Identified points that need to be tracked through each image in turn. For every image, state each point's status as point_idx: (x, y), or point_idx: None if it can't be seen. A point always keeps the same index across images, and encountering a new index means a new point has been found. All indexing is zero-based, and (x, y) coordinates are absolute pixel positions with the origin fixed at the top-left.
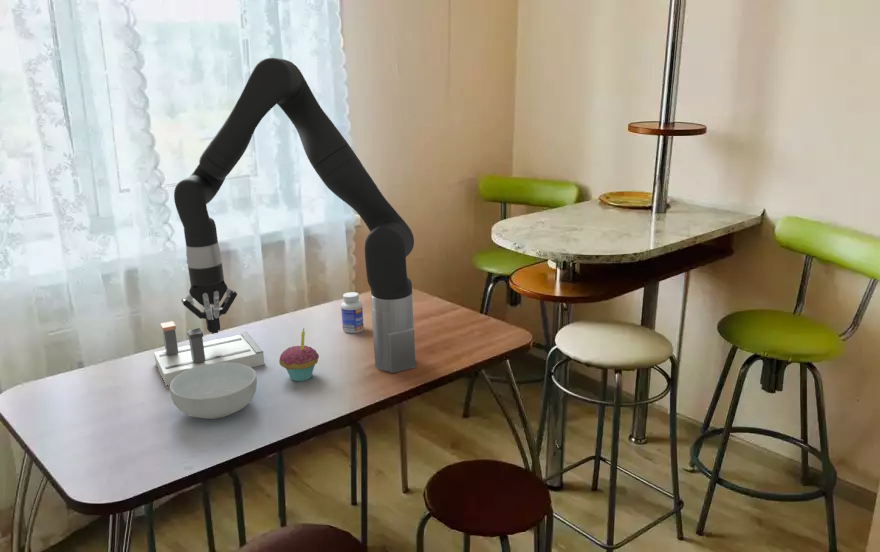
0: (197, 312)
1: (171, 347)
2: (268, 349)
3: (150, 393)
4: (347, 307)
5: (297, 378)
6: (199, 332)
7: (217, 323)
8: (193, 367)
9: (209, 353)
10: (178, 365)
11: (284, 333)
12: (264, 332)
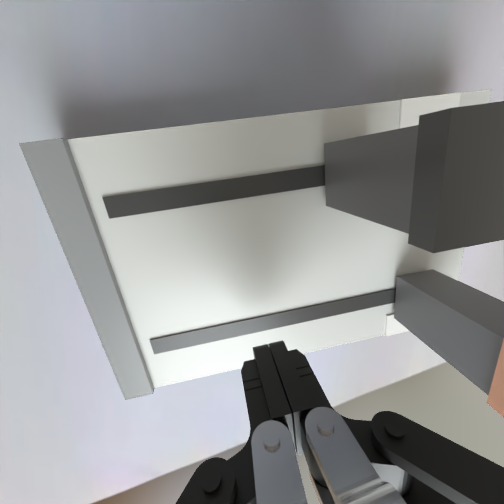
0: (452, 466)
1: (441, 285)
2: (59, 298)
3: (494, 66)
4: None
5: None
6: (472, 133)
7: (259, 392)
8: (378, 104)
9: (291, 240)
10: None
11: (4, 415)
12: (85, 434)
